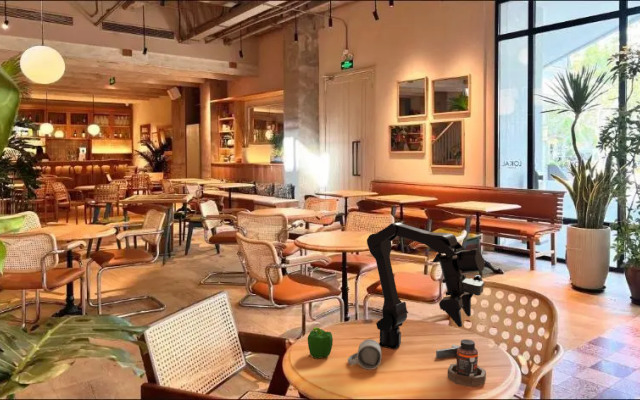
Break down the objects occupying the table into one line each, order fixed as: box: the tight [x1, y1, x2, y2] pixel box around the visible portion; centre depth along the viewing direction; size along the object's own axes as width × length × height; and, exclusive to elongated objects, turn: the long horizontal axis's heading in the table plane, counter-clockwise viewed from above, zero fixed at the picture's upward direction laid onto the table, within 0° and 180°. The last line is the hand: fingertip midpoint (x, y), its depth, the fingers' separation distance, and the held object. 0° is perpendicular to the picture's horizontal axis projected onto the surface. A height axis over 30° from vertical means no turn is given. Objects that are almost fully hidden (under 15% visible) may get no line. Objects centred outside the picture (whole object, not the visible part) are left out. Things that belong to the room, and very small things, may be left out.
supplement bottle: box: [456, 339, 479, 377], centre depth 152 cm, size 6×6×11 cm
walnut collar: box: [446, 362, 487, 388], centre depth 153 cm, size 10×10×2 cm
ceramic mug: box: [347, 338, 383, 371], centre depth 162 cm, size 11×8×8 cm
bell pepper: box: [307, 326, 334, 359], centre depth 169 cm, size 8×8×10 cm
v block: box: [435, 344, 461, 359], centre depth 168 cm, size 8×12×2 cm, turn 65°
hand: (464, 321), depth 162 cm, fingers open, 9 cm apart
